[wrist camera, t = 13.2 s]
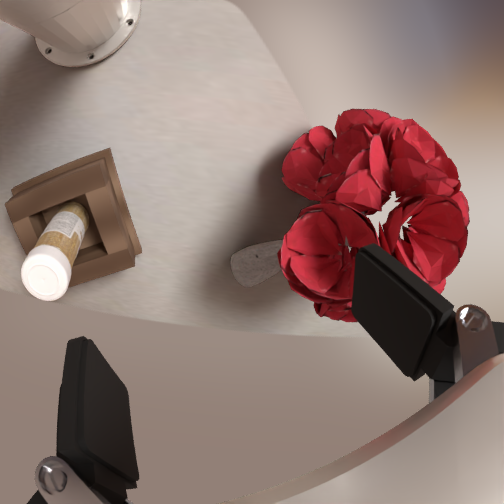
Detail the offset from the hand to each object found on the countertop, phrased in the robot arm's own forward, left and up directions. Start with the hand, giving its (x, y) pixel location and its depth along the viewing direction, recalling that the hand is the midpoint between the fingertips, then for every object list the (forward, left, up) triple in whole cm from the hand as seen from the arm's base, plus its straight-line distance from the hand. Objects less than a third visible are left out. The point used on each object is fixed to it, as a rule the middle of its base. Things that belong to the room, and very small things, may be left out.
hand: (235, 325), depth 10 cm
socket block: (+4, -13, -28) cm, 31 cm away
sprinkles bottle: (+3, -13, -27) cm, 30 cm away
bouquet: (+9, +18, -28) cm, 35 cm away
